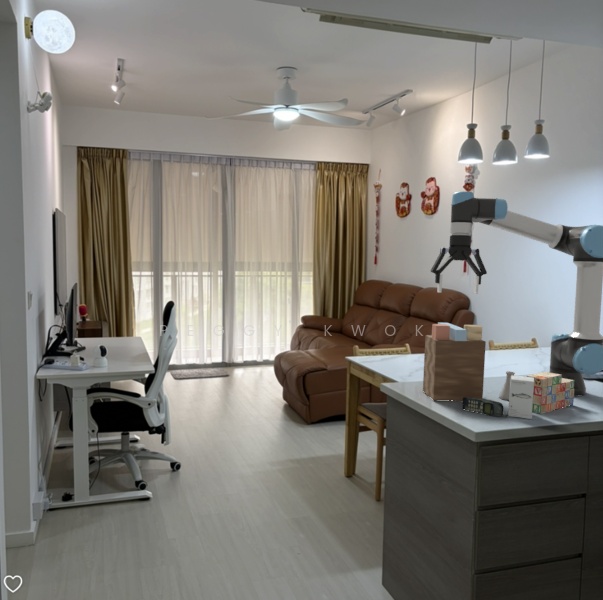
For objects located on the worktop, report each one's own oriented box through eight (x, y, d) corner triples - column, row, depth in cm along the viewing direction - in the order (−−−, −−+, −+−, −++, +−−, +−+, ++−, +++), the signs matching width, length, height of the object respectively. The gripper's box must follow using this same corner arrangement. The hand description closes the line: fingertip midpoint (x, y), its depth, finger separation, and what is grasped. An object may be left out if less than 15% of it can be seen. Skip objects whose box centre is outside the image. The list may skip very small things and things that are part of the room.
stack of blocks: (556, 401, 207) (558, 368, 206) (573, 405, 202) (575, 371, 201) (523, 410, 194) (525, 374, 193) (540, 414, 189) (543, 378, 188)
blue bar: (437, 332, 223) (437, 322, 223) (447, 332, 223) (447, 322, 223) (455, 340, 201) (456, 329, 201) (466, 341, 201) (467, 330, 201)
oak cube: (463, 338, 209) (464, 324, 208) (476, 338, 209) (477, 325, 209) (468, 340, 204) (468, 326, 203) (481, 340, 204) (482, 326, 204)
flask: (520, 401, 205) (522, 374, 204) (500, 400, 207) (501, 373, 206) (517, 397, 212) (519, 370, 212) (497, 395, 214) (498, 369, 213)
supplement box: (507, 416, 185) (510, 378, 184) (508, 411, 192) (510, 374, 191) (532, 419, 182) (534, 381, 181) (532, 414, 189) (534, 376, 188)
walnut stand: (422, 391, 216) (425, 334, 215) (468, 392, 217) (471, 335, 216) (433, 401, 202) (436, 340, 201) (482, 401, 203) (485, 341, 202)
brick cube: (431, 337, 208) (432, 324, 208) (445, 337, 208) (445, 324, 208) (435, 339, 203) (436, 325, 203) (449, 339, 203) (449, 326, 203)
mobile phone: (461, 396, 191) (505, 403, 182) (465, 395, 194) (509, 402, 184) (461, 411, 192) (505, 419, 182) (464, 409, 194) (508, 417, 184)
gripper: (489, 236, 210) (486, 293, 211) (424, 234, 208) (421, 291, 210) (498, 235, 202) (494, 294, 204) (430, 233, 200) (427, 292, 202)
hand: (457, 293), depth 207 cm, fingers open, 13 cm apart
